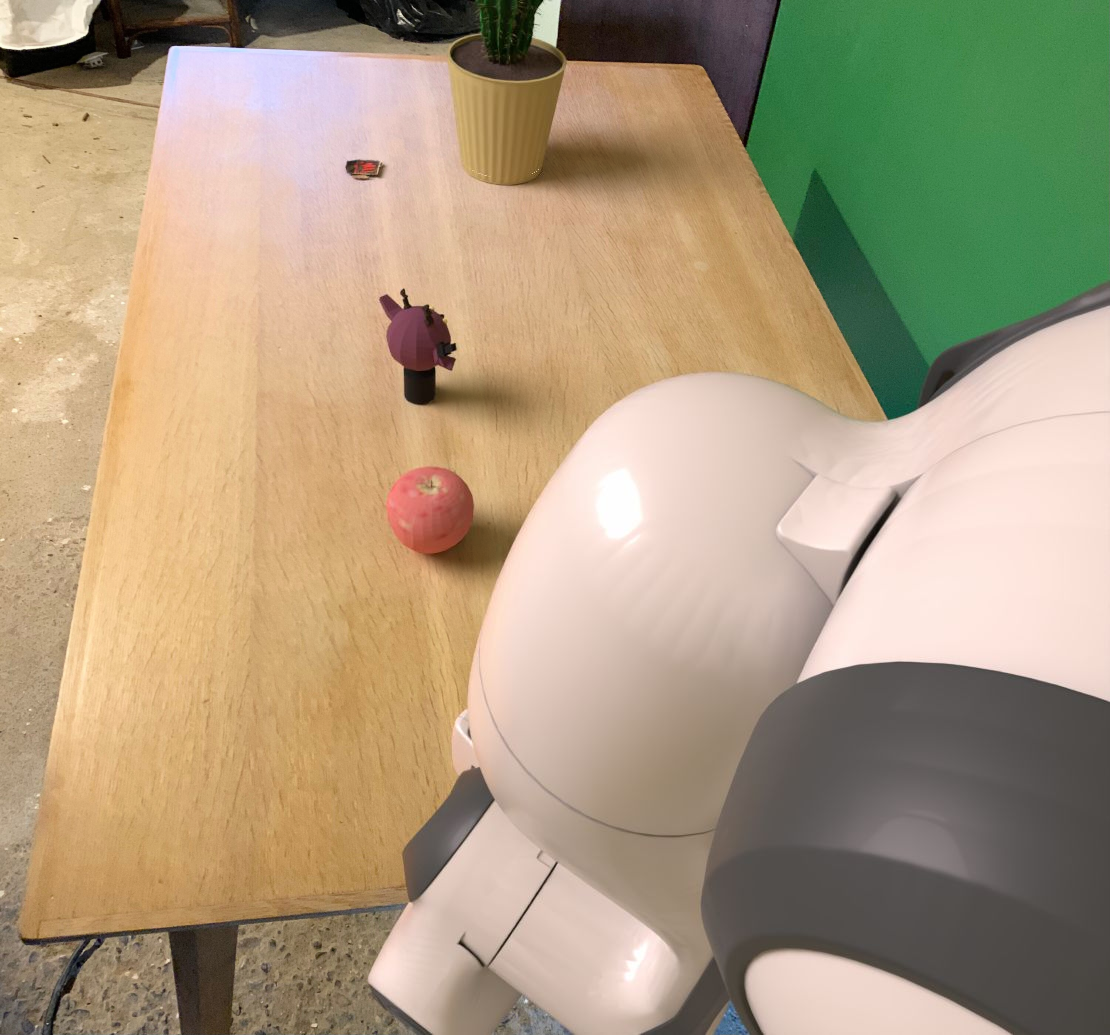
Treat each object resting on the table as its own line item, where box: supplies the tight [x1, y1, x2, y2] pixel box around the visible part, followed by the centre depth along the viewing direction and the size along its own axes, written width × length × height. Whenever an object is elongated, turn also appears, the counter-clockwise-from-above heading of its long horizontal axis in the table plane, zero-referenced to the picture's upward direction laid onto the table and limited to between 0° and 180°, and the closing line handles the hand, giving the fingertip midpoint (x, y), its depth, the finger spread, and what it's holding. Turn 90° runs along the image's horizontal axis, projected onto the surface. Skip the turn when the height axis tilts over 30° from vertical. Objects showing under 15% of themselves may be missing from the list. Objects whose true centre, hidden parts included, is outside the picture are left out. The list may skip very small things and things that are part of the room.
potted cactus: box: [446, 0, 568, 186], centre depth 121 cm, size 15×15×30 cm
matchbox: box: [345, 158, 384, 180], centre depth 128 cm, size 5×5×1 cm
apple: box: [385, 465, 475, 555], centre depth 82 cm, size 7×7×8 cm
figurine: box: [378, 288, 458, 406], centre depth 94 cm, size 8×8×12 cm
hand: (652, 666), depth 72 cm, fingers closed
